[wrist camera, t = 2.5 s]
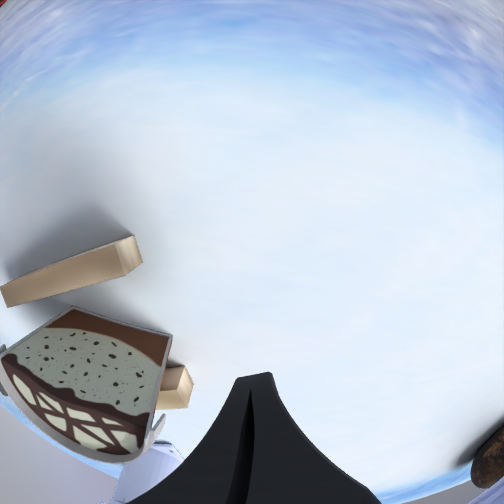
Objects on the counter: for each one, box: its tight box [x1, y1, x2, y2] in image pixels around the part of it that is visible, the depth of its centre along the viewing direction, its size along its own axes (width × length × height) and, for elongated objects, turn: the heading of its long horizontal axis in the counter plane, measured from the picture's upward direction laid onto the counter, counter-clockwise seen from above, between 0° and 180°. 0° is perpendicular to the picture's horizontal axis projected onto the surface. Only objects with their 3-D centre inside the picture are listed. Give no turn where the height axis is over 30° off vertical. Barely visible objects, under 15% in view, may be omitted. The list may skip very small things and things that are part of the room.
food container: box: [0, 306, 173, 464], centre depth 15 cm, size 12×6×10 cm, turn 79°
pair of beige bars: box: [0, 235, 194, 410], centre depth 18 cm, size 13×14×3 cm
